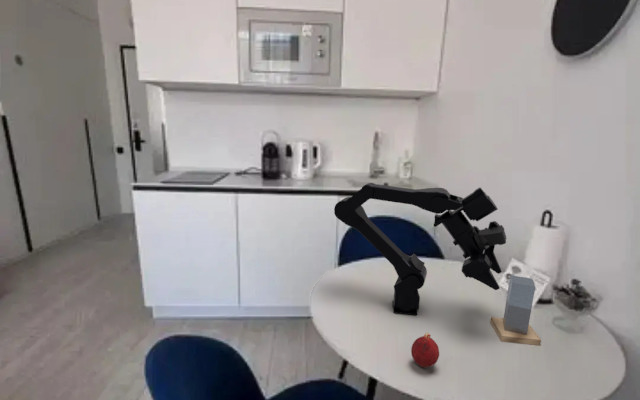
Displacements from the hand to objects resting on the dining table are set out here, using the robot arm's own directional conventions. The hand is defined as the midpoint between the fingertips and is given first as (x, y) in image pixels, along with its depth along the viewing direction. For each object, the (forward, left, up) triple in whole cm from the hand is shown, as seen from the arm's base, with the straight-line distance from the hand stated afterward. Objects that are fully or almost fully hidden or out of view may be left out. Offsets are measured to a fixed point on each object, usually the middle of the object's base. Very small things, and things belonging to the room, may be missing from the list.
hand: (499, 280), depth 94 cm
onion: (-20, -19, -14) cm, 31 cm away
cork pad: (+5, -1, -13) cm, 14 cm away
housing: (+5, -1, -12) cm, 13 cm away
